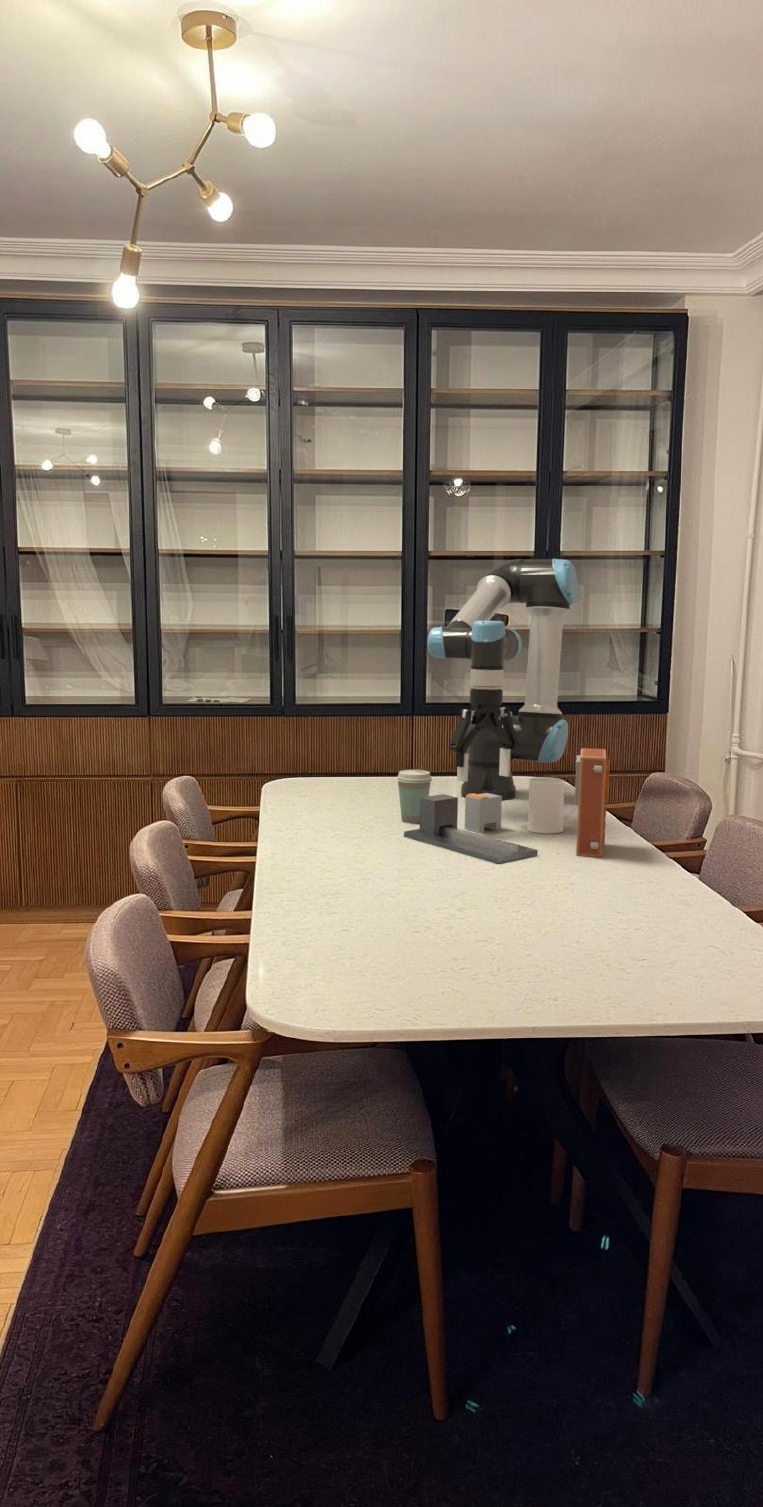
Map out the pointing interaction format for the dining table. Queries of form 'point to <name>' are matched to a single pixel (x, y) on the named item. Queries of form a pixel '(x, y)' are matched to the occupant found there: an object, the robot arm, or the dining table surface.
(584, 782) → the control panel
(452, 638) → the robot arm
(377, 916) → the dining table surface
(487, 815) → the module
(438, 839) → the rail board
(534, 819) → the mug
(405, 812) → the coffee cup
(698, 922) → the dining table surface
